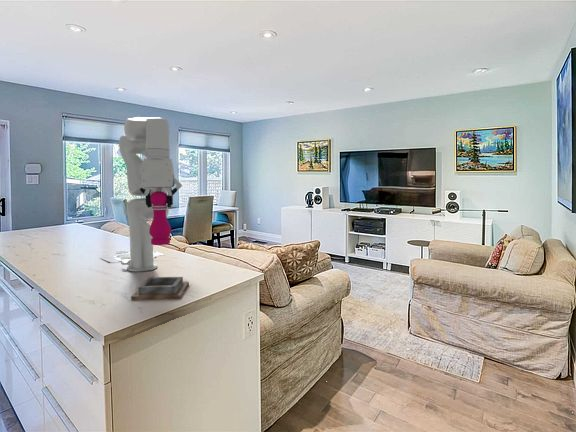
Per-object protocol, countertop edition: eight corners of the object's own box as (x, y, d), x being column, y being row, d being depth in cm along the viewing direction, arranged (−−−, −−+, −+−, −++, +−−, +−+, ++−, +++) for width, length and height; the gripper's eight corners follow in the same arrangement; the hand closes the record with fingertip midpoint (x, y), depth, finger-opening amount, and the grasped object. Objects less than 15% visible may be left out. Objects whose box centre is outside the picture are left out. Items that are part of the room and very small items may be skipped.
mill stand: (131, 300, 116) (130, 289, 116) (145, 285, 132) (145, 276, 131) (180, 298, 118) (180, 288, 117) (188, 284, 133) (188, 275, 133)
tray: (168, 257, 184) (167, 250, 184) (111, 268, 165) (111, 260, 165) (151, 251, 199) (151, 245, 198) (98, 261, 179) (97, 253, 179)
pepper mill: (164, 246, 119) (162, 187, 117) (145, 245, 120) (143, 186, 118) (175, 242, 126) (173, 186, 124) (157, 241, 127) (155, 186, 125)
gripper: (128, 153, 115) (130, 208, 117) (181, 154, 117) (182, 208, 119) (135, 155, 123) (137, 206, 124) (185, 156, 125) (186, 206, 126)
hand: (159, 206), depth 122 cm, fingers closed on pepper mill, 6 cm apart
